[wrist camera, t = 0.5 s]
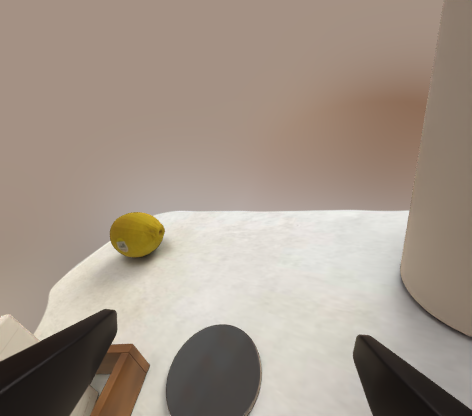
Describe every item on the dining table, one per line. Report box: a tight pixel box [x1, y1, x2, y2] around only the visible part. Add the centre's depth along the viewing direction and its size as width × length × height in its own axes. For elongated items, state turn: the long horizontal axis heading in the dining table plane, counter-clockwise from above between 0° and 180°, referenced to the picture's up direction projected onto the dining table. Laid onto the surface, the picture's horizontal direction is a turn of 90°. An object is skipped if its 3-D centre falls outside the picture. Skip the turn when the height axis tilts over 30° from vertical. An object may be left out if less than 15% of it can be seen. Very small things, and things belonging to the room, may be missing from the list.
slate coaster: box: [166, 324, 262, 416], centre depth 21 cm, size 9×9×1 cm
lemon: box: [110, 212, 165, 258], centre depth 40 cm, size 11×8×8 cm
